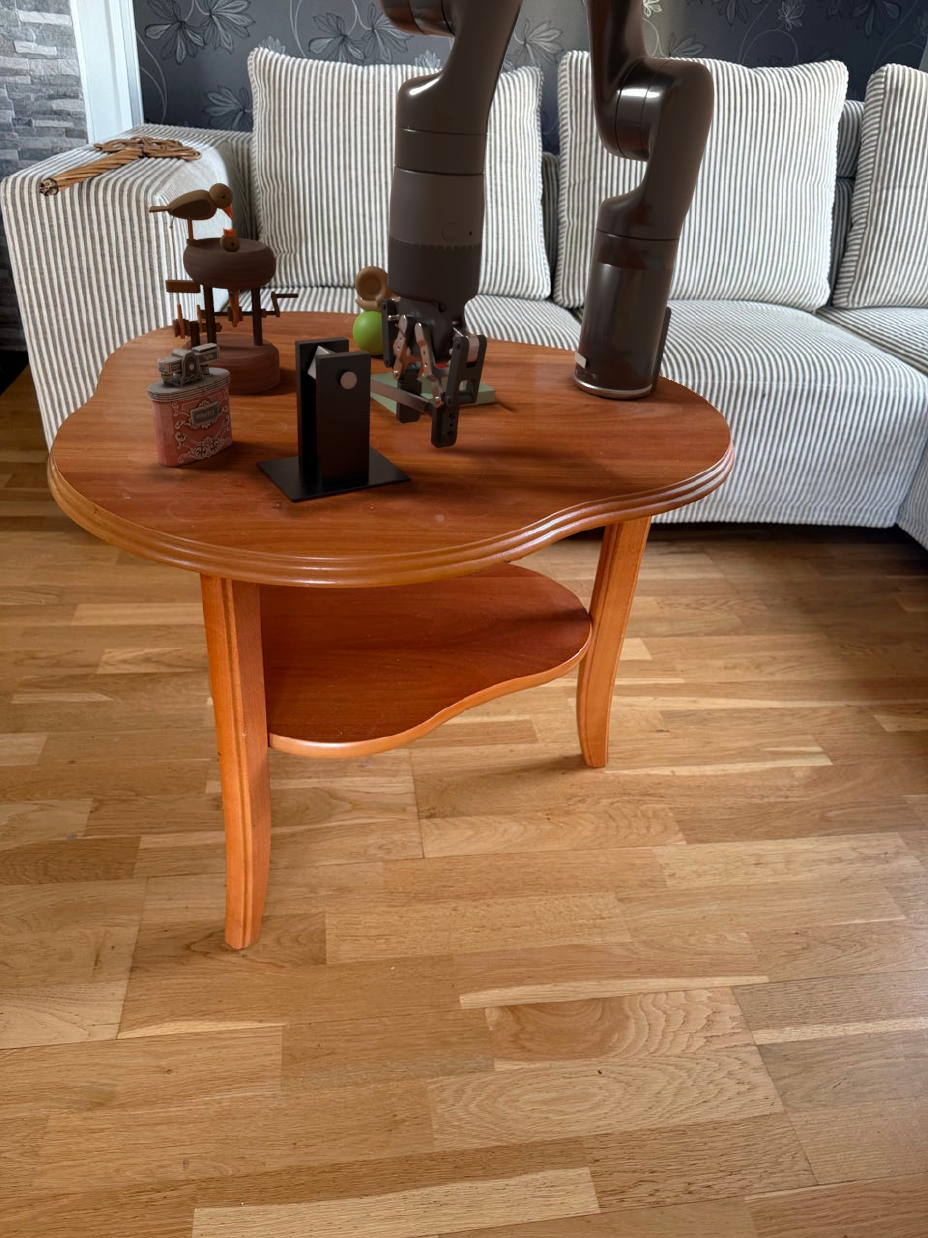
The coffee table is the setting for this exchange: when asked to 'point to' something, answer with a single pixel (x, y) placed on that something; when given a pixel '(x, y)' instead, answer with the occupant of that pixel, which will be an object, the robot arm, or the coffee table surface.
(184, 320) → the bird automaton
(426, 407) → the lever
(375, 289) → the snail figurine
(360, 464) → the bracket
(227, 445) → the lighter
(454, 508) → the coffee table surface
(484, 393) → the button box
